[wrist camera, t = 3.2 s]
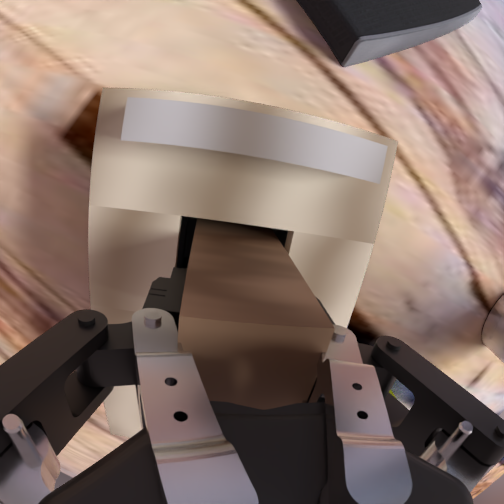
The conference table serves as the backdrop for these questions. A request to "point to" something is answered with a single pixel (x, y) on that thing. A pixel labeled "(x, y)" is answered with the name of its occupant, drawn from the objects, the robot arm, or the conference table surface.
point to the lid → (225, 197)
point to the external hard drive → (385, 24)
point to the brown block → (250, 317)
